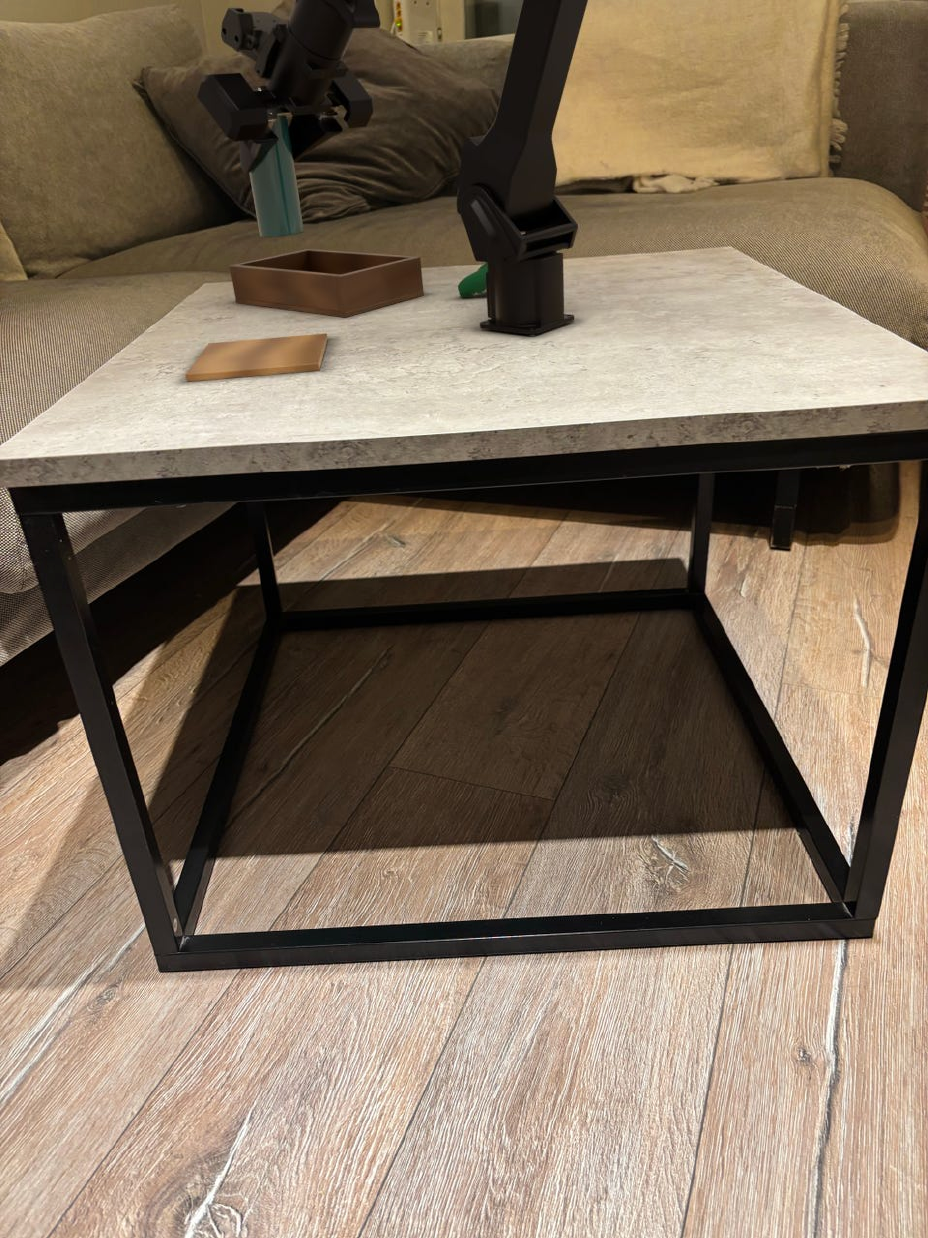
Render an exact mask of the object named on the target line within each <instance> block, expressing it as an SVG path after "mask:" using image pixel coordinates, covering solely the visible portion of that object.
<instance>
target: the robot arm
mask: <svg viewBox="0 0 928 1238" xmlns="http://www.w3.org/2000/svg"><path fill="white" fill-rule="evenodd" d="M588 2H589V0H522V3H521V7H520V11H519V16H518V20H517V24H516V27H515V32H514V37H513V41H512V46H511V51H510V53H509V58H508V63H507V66H506V72H505V75H504V81H503V85H502V89H501V94H500V98H499V101H498V105H497V111H496V115H495V118H494V121H493V123H492V125H491V126H490V127H489V129H488V131H487V133H486V134H485V135H478V136H472V137H467V138H465V140H464V143H463V145H462V149H461V159H460V166H459V170H458V173H457V177H456V178H455V180H454V181H453V184H452V186H453V188H454V189H456V188H458V190H457V193H456V211H457V214H458V215H460V218H461V221H462V223H463V226H464V229H465V233H466V236H467V239H468V242H469V245H470V248H471V251H472V255H473V257H474V260H475V261H476V262H480V263H481V262H482V263H488V271H487V272H486V274H485V275H486V292H485V294H486V304H487V305H486V308H487V309H486V310H487V317H488V319H486V320H484V321H480V322H479V328H480V329H483V330H489V331H491V330H492V331H498V332H506V333H514V334H522V335H530V336H531V335H532V336H533V335H537V334H540V333H544V332H546V331H549V330H552V329H554V328H557V327H560V326H563V325H566V324H568V323H571V322H573V321H575V314H571V313H565V285H564V283H565V281H564V280H565V277H564V253H563V252H558V251H562V250H570V249H572V248H573V247H574V244H575V241H576V237H577V233H578V230H579V225H578V223H577V221H576V220H575V219H574V217H573V216H572V215H571V213H570V212H569V211H568V210H567V208H566V207H565V206H564V204H563V203H562V201H560V200H559V198H558V197H557V195H556V194H555V189H556V181H557V175H558V167H557V161H556V155H555V150H554V144H553V132H554V126H555V123H556V120H557V116H558V112H559V109H560V105H561V101H562V99H563V98H562V97H563V95H564V91H565V88H566V87H565V86H566V83H567V79H568V75H569V72H570V69H571V64H572V61H573V58H574V53H575V50H576V46H577V43H578V39H579V34H580V32H581V29H582V28H581V27H582V24H583V21H584V16H585V12H586V9H587V6H588ZM381 24H382V23H381V17H380V13H379V11H378V9H377V6H376V3H375V0H295V3H294V5H293V8H292V10H291V12H290V15H289V19H288V21H286V20H283V19H282V18H281V17H279V16H277V15H276V14H274V13H271V12H267V11H245V10H244V8H243V7H228V8H227V10H226V12H225V15H224V17H223V19H222V22H221V31H220V37H221V40H222V42H223V43H224V44H225V45H227V46H228V47H230V48H232V50H233V51H234V52H236V53H241V54H243V55H245V56H246V57H247V58H250V59H251V60H252V61H254V62H255V64H254V66H253V71H254V72H255V73H256V74H257V76H258V78H260V79H264V81H266V82H265V85H259V86H258V88H257V90H254V89H253V88H252V87H251V85H250V84H249V83H248V81H247V80H246V79H245V78H244V76H243V75H242V73H241V72H233V73H232V72H229V73H213V74H203V76H202V79H201V82H200V84H199V88H198V91H197V94H196V98H197V99H198V101H199V102H200V104H201V105H202V106H203V108H204V109H205V110H206V111H207V113H208V114H209V115H210V117H211V118H212V119H213V121H214V122H215V123H216V125H217V127H219V128H220V130H221V132H222V133H223V134H224V135H225V137H226V138H227V139H229V140H231V141H233V142H239V165H240V168H241V170H242V171H243V172H244V174H245V175H247V174H250V172H251V171H252V170H253V169H254V168H255V167H256V166H257V165H258V164H259V162H260V161H261V160H262V159H263V158H264V156H265V155H266V154H267V153H268V152H269V151H270V149H271V148H272V147H273V146H274V145H275V144H276V142H277V141H278V140H279V138H278V137H277V136H276V134H275V133H274V132H273V130H272V126H273V124H274V122H276V120H277V116H286V115H287V116H291V118H290V122H289V123H288V126H289V133H290V140H291V147H292V154H293V160H294V163H296V162H298V161H299V160H300V159H301V158H303V157H304V156H306V155H307V154H309V153H310V152H312V151H313V150H314V149H316V148H318V147H319V146H321V145H322V144H324V143H326V142H327V141H329V140H330V139H332V138H333V137H335V136H338V135H339V136H340V135H341V134H342V133H343V132H344V129H343V126H342V125H341V124H340V123H339V121H338V119H337V118H338V115H339V113H338V110H339V109H340V106H342V107H343V108H344V109H345V111H346V112H345V114H344V116H343V121H344V123H345V125H346V126H347V128H348V129H358V128H366V127H367V126H368V124H369V122H370V120H371V118H372V116H373V114H374V107H373V98H372V96H371V95H370V94H369V93H368V91H367V90H366V89H365V87H364V86H363V85H362V83H361V82H360V81H359V79H358V78H357V77H356V75H354V73H353V72H352V70H351V69H350V68H349V67H348V65H347V64H346V62H345V61H344V60H343V59H344V56H345V54H346V52H347V49H348V47H349V44H350V42H351V40H352V38H353V36H354V34H355V31H356V30H358V29H360V30H361V29H362V30H363V29H365V30H367V29H379V28H380V27H381Z"/></svg>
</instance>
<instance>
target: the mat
mask: <svg viewBox="0 0 928 1238" xmlns="http://www.w3.org/2000/svg"><path fill="white" fill-rule="evenodd" d="M328 340H329V338H328V333H315V334H313V333H312V334H303V335H302V334H301V335H290V336H279V337H268V338H267V337H265V338H255V339H245V340H233V341H232V340H231V341H221V342H219V341H218V342H208V344H207V345H206V346H205V347H204V349H203V350H202V352H201V353H200V354H199V356H197V359H196V360H195V361H194V362H193V364H192V365H191V367H190V368H189V369H188V370H187V372H186V373H185V374H184V375H185V380H186V382H199V381H200V382H201V381H211V380H222V379H236V378H247V377H259V376H271V375H280V374H293V373H294V374H295V373H305V372H316V371H320V368H321V365H322V361H323V358H324V354H325V352H326V347H327V343H328Z"/></svg>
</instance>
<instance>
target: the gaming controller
mask: <svg viewBox="0 0 928 1238" xmlns="http://www.w3.org/2000/svg"><path fill="white" fill-rule="evenodd" d="M487 271H488V263H486V262H484V264H482V265H481V266H480V267H479V268H478V269H477V270H476V271H474V272H472V273H470V274H469V275H467V276H465V277H464V278H463V279H461V280H460V282H459V283H458V284H457V289H458V293H459V296H460V297H462V298H463V299H464V298H465V299H466V298H471V297H475V296H478V295H482V294H486V275H485V274H486V272H487Z"/></svg>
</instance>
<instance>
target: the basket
mask: <svg viewBox="0 0 928 1238" xmlns="http://www.w3.org/2000/svg"><path fill="white" fill-rule="evenodd" d="M421 258H422V257H421V256H411V255H400V254H399V255H397V254H386V253H373V252H372V253H371V252H370V253H369V252H356V251H345V250H344V251H342V250H331V249H330V250H328V249H315V248H306V249H301V250H296V251H292V252H288V253H282V254H278V255H273V256H268V257H264V258H259V259H255V260H250V261H245V262H241V263H235V264H231V265H229V271H230V277H231V285H232V287H233V288H232V289H233V295H234V298H235V299H234V300H235V303H236V304H243V305H251V306H258V307H264V308H265V307H266V308H273V309H282V310H287V311H296V312H301V313H310V314H317V315H326V316H332V317H333V316H334V317H338V318H339V317H340V318H348V317H349V318H350V317H351V316H355V315H359V314H362V313H366V312H370V311H373V310H377V309H380V308H384V307H388V306H391V305H395V304H398V303H402V302H405V301H408V300H409V301H410V300H413V299H415V298H419V297H423V296H424V295H425V294H424V284H423V283H424V281H423V272H422V261H421Z"/></svg>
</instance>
